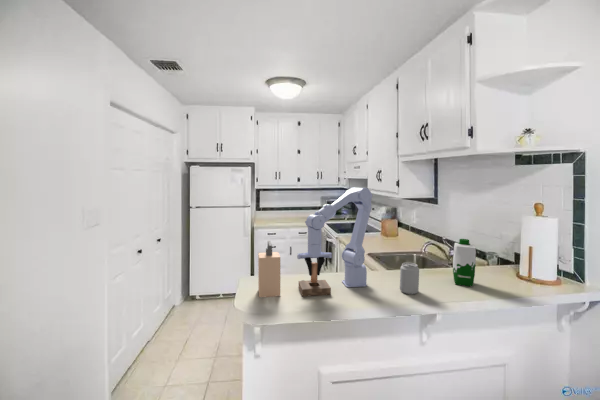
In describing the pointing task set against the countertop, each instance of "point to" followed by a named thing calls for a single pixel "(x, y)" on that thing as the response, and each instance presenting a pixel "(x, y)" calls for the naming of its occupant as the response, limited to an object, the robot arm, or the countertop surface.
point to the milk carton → (464, 263)
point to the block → (314, 288)
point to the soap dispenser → (269, 273)
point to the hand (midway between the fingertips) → (314, 274)
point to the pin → (314, 272)
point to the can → (409, 278)
